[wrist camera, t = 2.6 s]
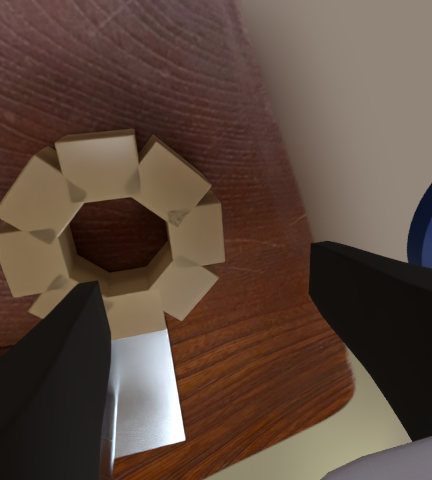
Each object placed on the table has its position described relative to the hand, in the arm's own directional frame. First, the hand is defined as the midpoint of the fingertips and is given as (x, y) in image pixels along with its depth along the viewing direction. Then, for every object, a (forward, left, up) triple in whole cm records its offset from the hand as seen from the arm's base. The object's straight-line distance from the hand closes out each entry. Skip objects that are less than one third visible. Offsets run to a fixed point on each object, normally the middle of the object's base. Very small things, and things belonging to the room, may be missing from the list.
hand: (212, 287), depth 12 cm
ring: (+3, 0, -6) cm, 7 cm away
